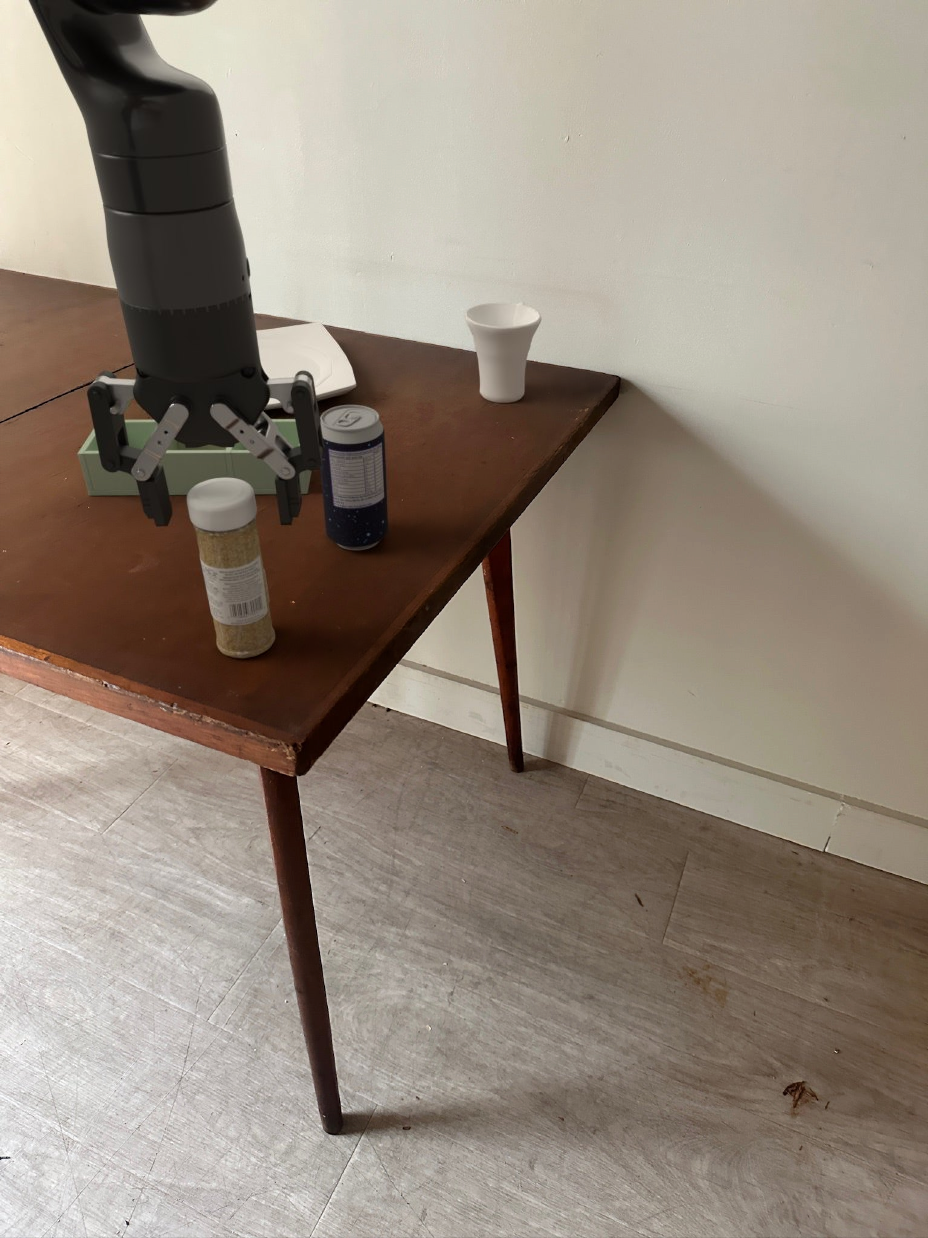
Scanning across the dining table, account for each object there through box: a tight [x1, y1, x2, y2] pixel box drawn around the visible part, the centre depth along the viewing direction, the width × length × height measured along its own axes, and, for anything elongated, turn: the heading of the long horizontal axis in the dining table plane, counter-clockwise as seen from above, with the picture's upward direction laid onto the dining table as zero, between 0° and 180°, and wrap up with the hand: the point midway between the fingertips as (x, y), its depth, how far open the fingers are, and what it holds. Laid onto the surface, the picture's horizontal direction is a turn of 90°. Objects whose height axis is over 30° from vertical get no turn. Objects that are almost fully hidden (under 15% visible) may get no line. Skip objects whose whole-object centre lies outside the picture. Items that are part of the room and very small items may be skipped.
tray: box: [77, 418, 313, 497], centre depth 87 cm, size 21×8×5 cm, turn 93°
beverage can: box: [319, 404, 389, 551], centre depth 76 cm, size 6×6×12 cm
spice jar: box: [186, 478, 276, 659], centre depth 63 cm, size 5×5×13 cm
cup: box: [464, 301, 542, 404], centre depth 104 cm, size 9×9×10 cm
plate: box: [256, 322, 357, 412], centre depth 107 cm, size 24×24×3 cm
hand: (227, 520), depth 61 cm, fingers open, 8 cm apart
